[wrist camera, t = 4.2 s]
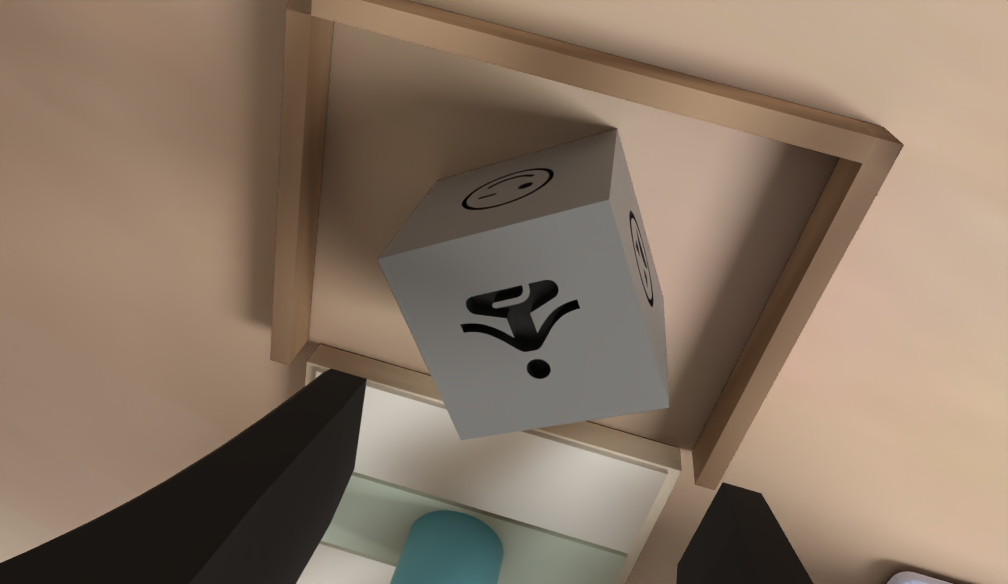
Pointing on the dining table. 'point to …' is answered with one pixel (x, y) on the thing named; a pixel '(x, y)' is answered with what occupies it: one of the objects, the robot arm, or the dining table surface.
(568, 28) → the dining table surface
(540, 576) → the board
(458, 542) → the pawn
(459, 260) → the grey symbol block
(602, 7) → the dining table surface
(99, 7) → the dining table surface
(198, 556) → the robot arm
